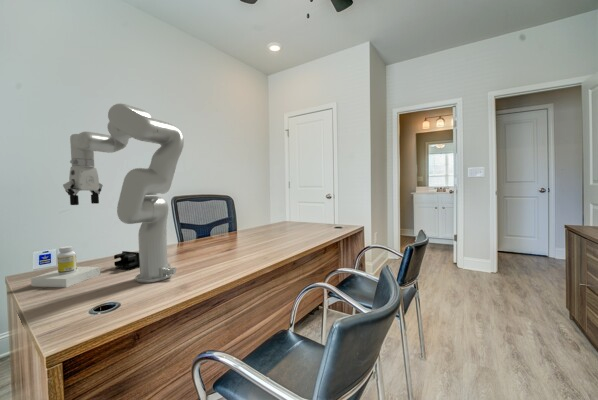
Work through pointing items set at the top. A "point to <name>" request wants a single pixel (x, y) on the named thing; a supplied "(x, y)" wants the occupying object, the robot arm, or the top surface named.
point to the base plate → (65, 277)
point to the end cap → (127, 260)
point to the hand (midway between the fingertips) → (85, 204)
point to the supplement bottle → (66, 260)
